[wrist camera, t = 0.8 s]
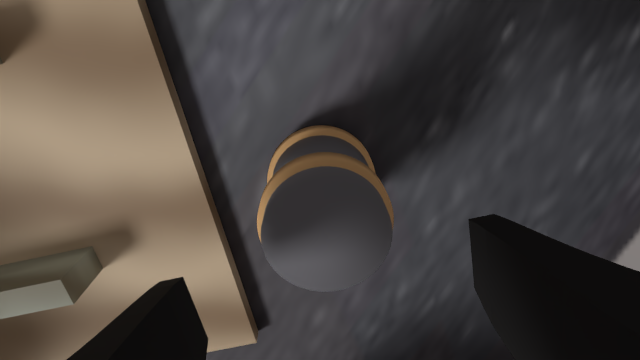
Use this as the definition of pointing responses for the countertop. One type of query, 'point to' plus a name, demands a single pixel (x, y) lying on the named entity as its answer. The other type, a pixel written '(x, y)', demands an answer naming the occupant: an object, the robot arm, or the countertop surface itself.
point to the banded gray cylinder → (324, 211)
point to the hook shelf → (99, 182)
